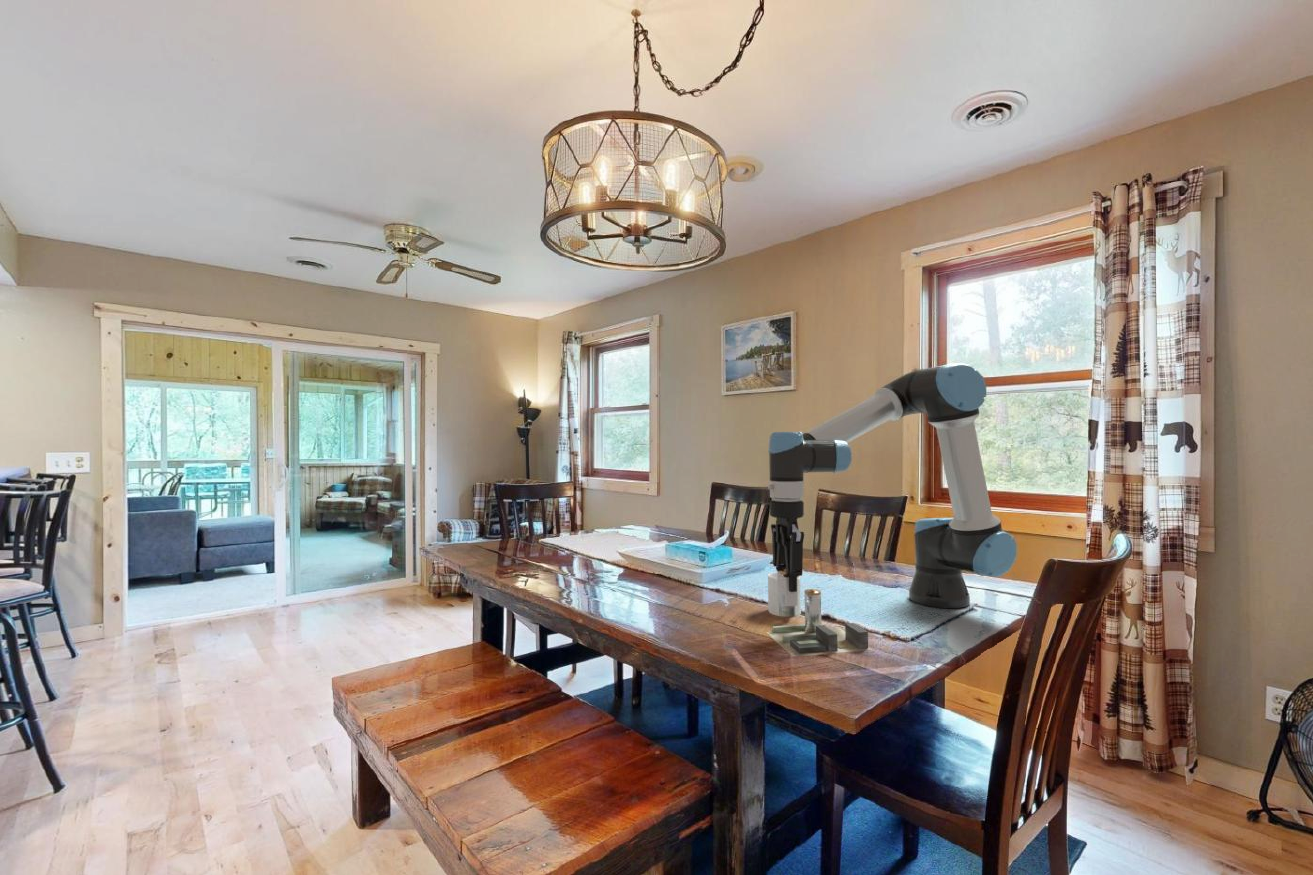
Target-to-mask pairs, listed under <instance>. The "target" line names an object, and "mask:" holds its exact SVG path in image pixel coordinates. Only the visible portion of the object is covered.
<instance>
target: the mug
mask: <svg viewBox="0 0 1313 875" xmlns="http://www.w3.org/2000/svg"><path fill="white" fill-rule="evenodd" d="M777 572H778V571H777ZM777 572H776V571H775V572H772V573H768V574H767V595H768V598H767V601H768V604H767V606H768V607H767V608H768V613H769V614H771V615H772V616H773V615H774V616H778V617H784V616H781V615H779V601H778V590H777ZM801 577H802V576H798V577H797V592H798V606H795V616H794V617H797V616H799V615H801V614H802V599H801V598H802V588H801V587H802V585H801V584H802V581H801V580H802V579H801Z"/></svg>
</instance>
